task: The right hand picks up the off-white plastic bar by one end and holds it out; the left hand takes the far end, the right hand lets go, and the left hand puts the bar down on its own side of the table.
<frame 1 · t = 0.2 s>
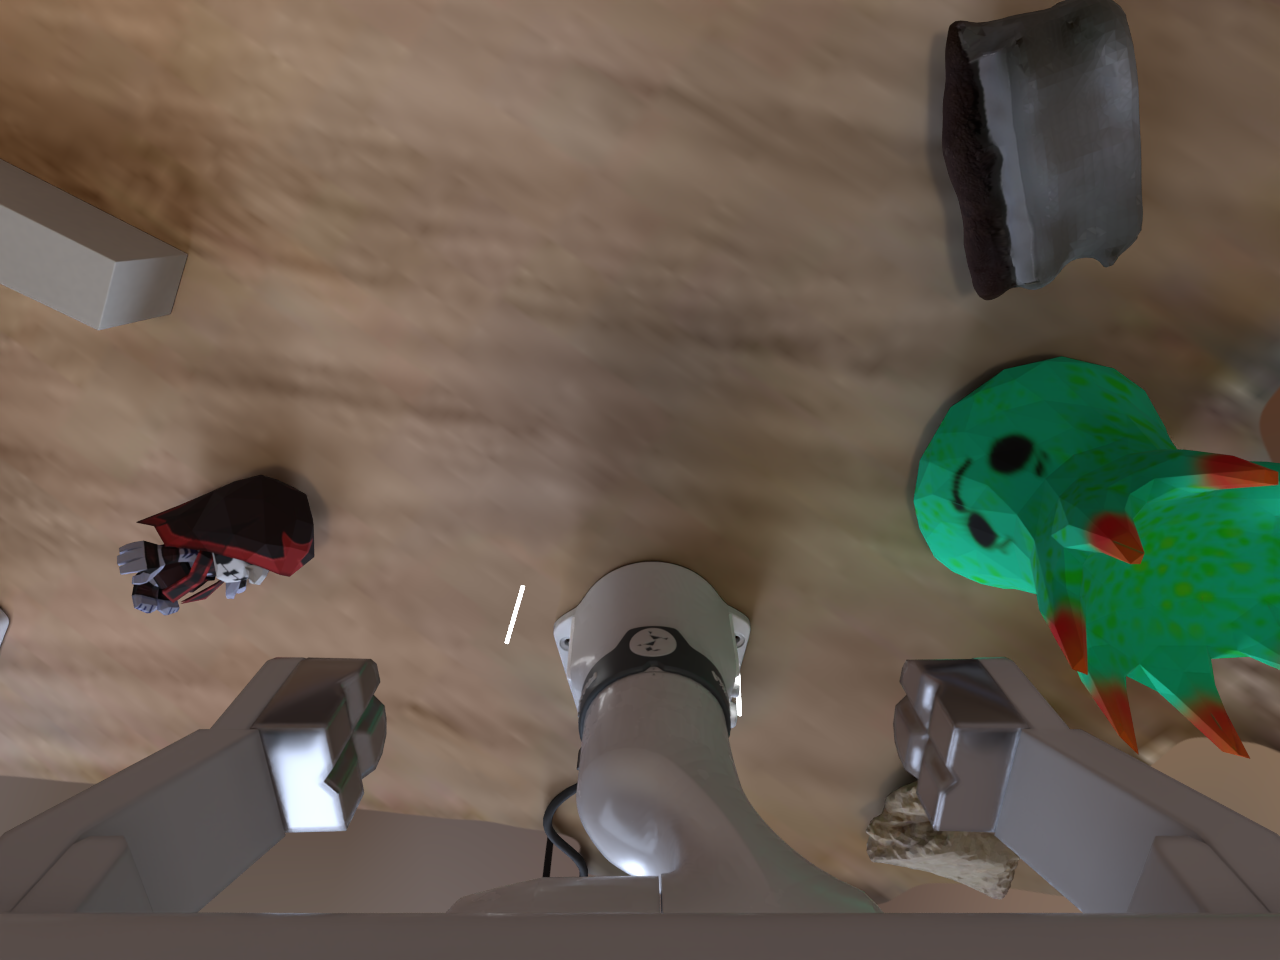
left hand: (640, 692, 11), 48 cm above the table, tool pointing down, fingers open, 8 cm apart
toy: (251, 520, 62), on the table
bar: (23, 206, 52), on the table
toy 2: (1023, 470, 60), on the table
artifact: (948, 806, 75), on the table
rock: (1005, 163, 51), on the table
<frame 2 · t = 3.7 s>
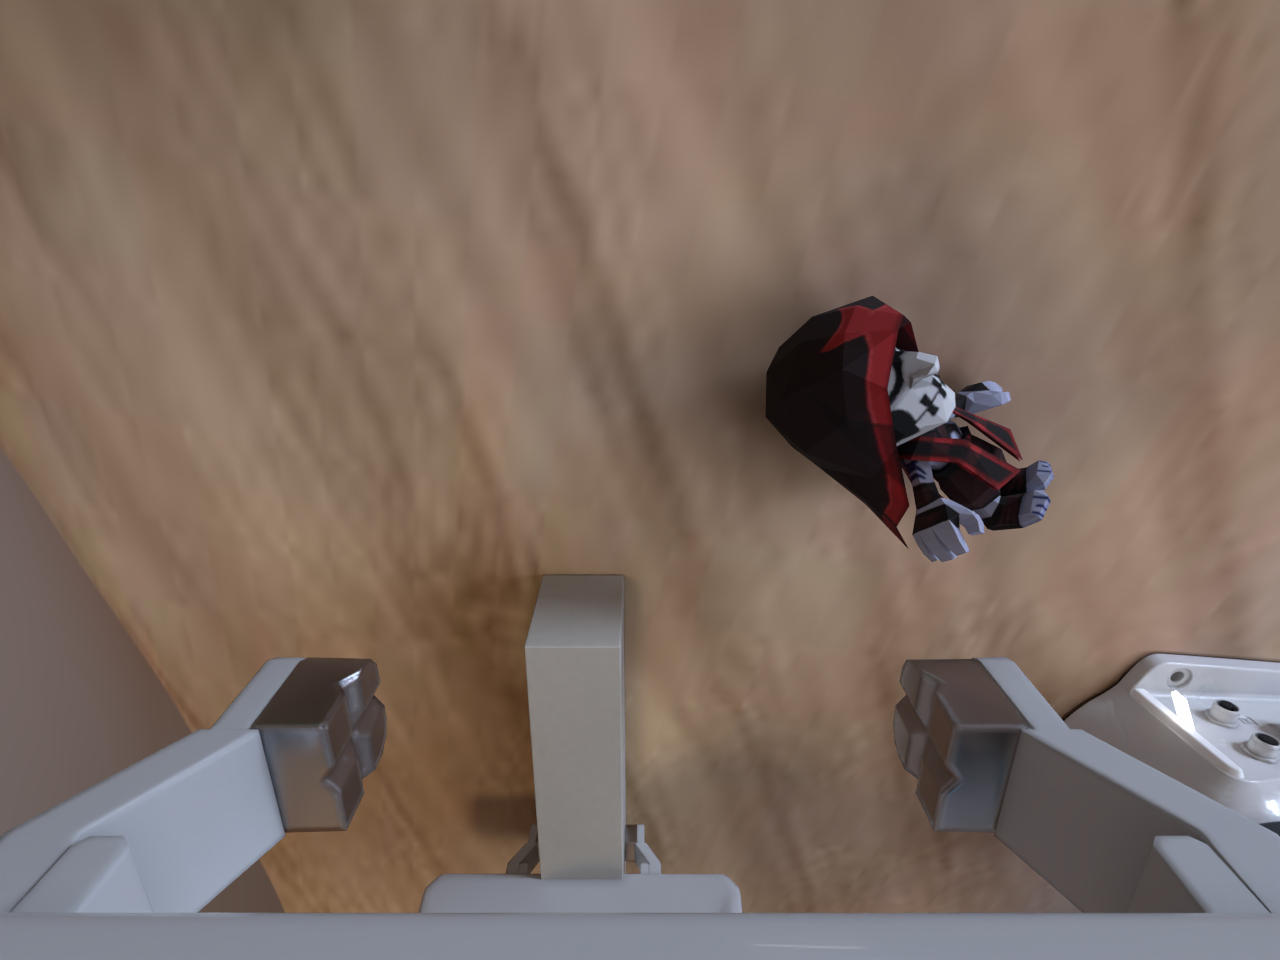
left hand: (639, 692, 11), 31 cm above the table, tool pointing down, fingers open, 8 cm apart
toy: (870, 409, 41), on the table
bar: (588, 721, 49), on the table, touching right hand
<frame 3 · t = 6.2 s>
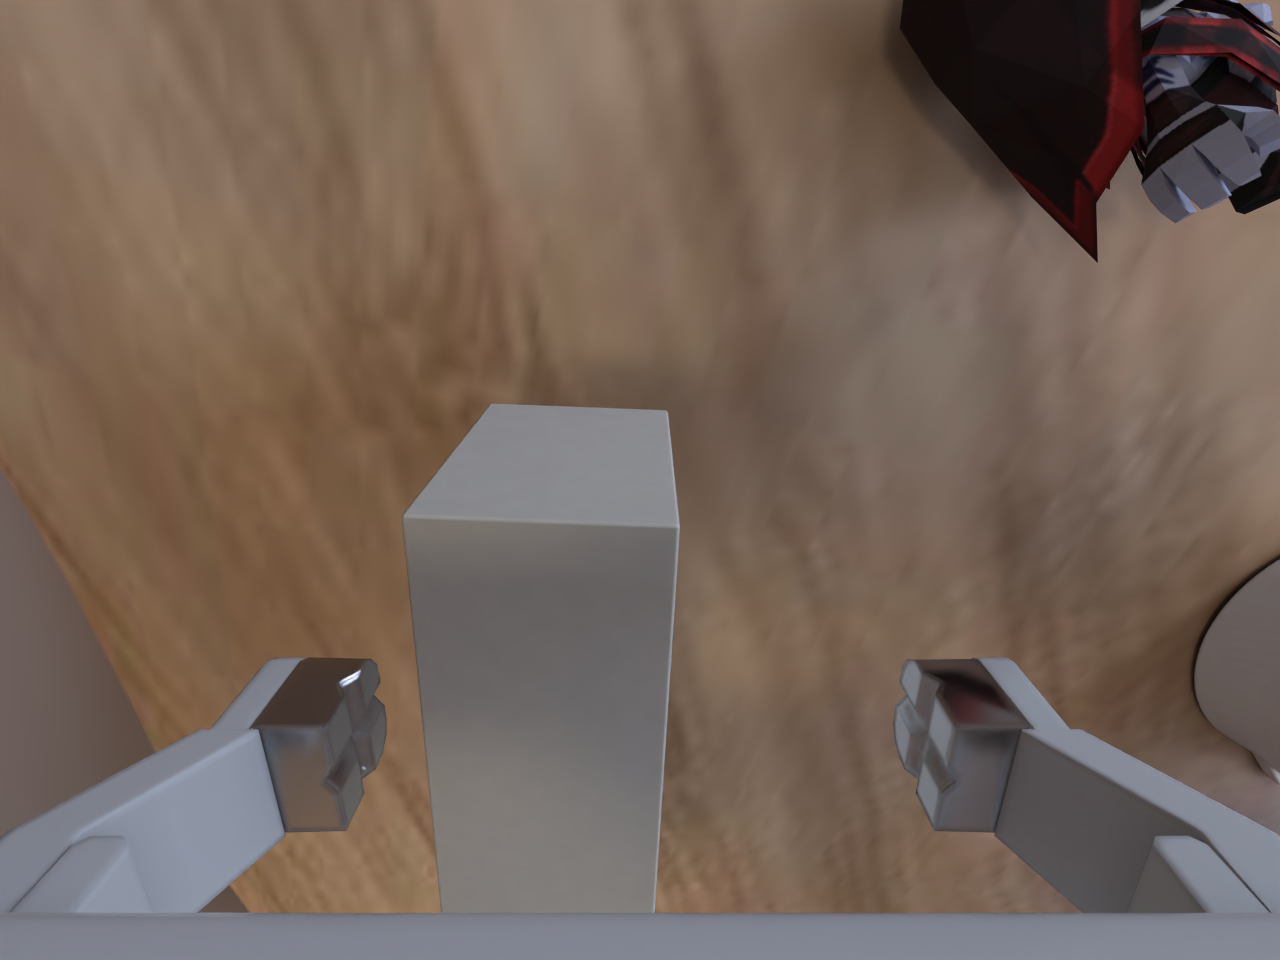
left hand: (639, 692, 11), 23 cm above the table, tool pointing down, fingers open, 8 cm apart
toy: (1037, 72, 28), on the table
bar: (577, 727, 25), point 12 cm above the table, touching right hand
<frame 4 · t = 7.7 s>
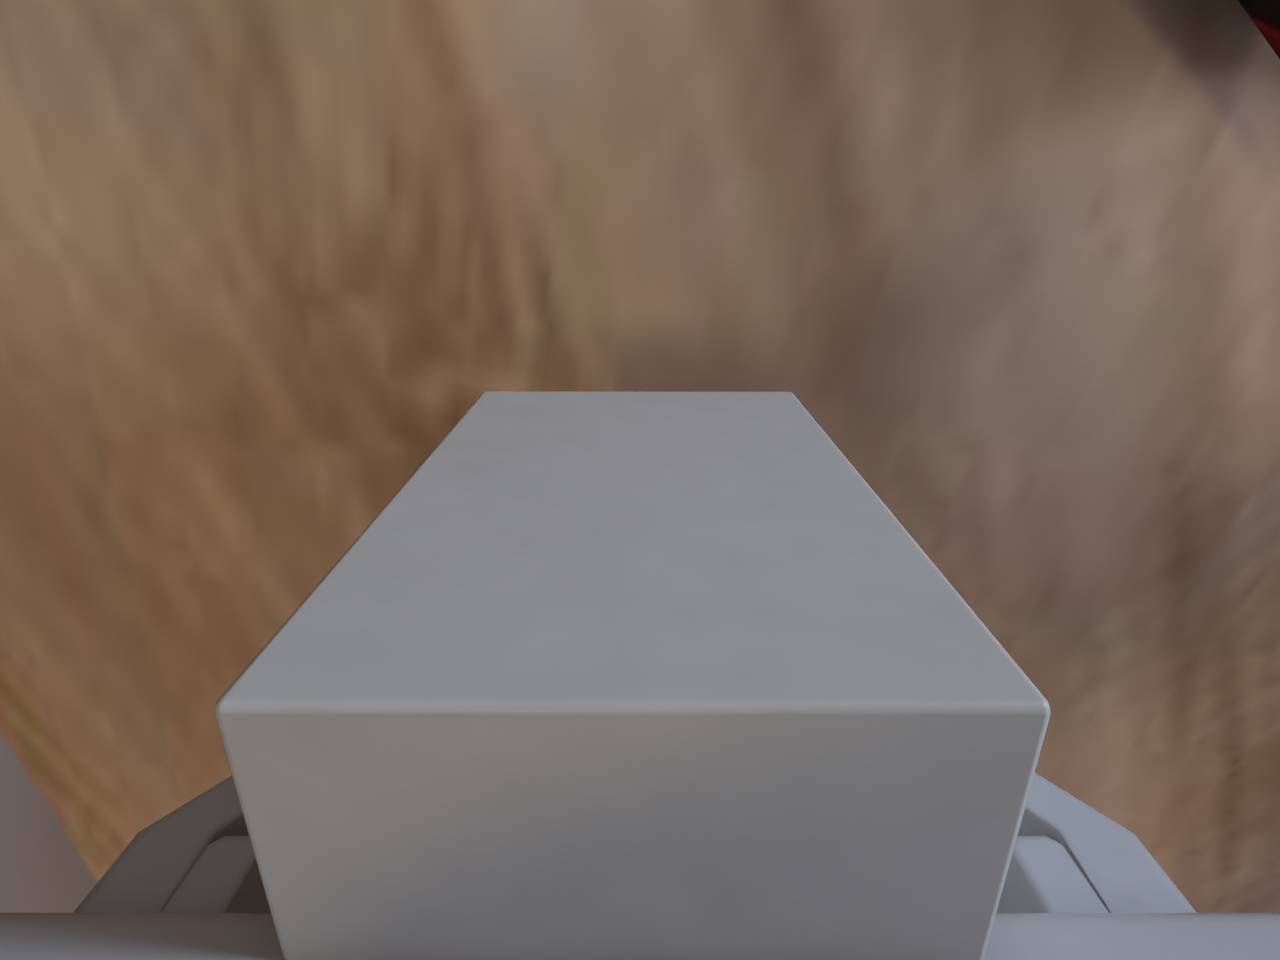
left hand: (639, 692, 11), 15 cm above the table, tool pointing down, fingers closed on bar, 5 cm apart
bar: (638, 890, 16), point 12 cm above the table, touching left hand, right hand
when the right hand's fingers open (15 cm above the table, at t = 8.9 s): bar stays where it is, held by the left hand.
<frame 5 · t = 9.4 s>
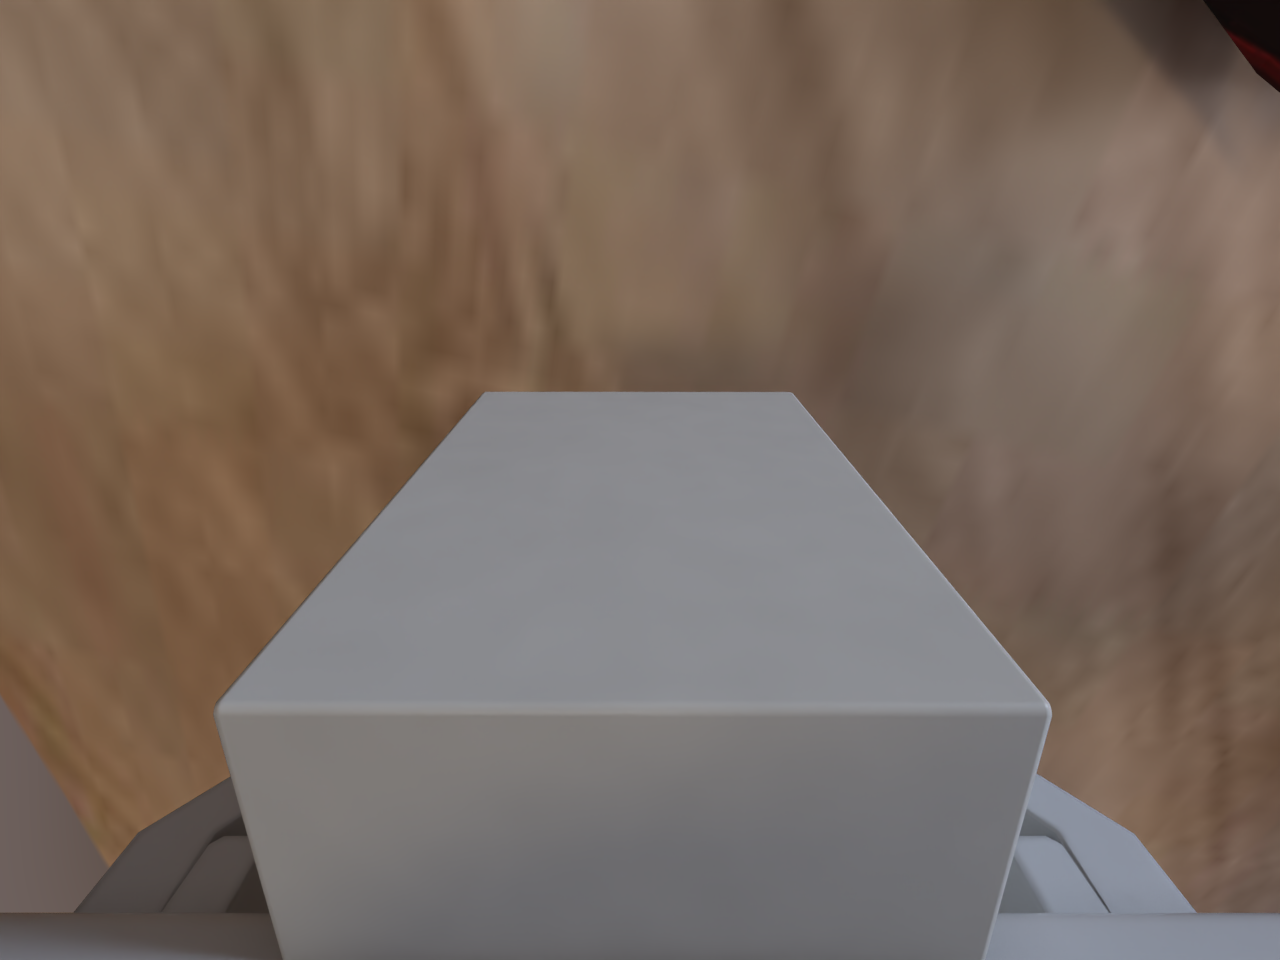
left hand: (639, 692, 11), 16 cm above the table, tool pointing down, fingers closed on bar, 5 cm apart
bar: (638, 891, 16), point 13 cm above the table, touching left hand
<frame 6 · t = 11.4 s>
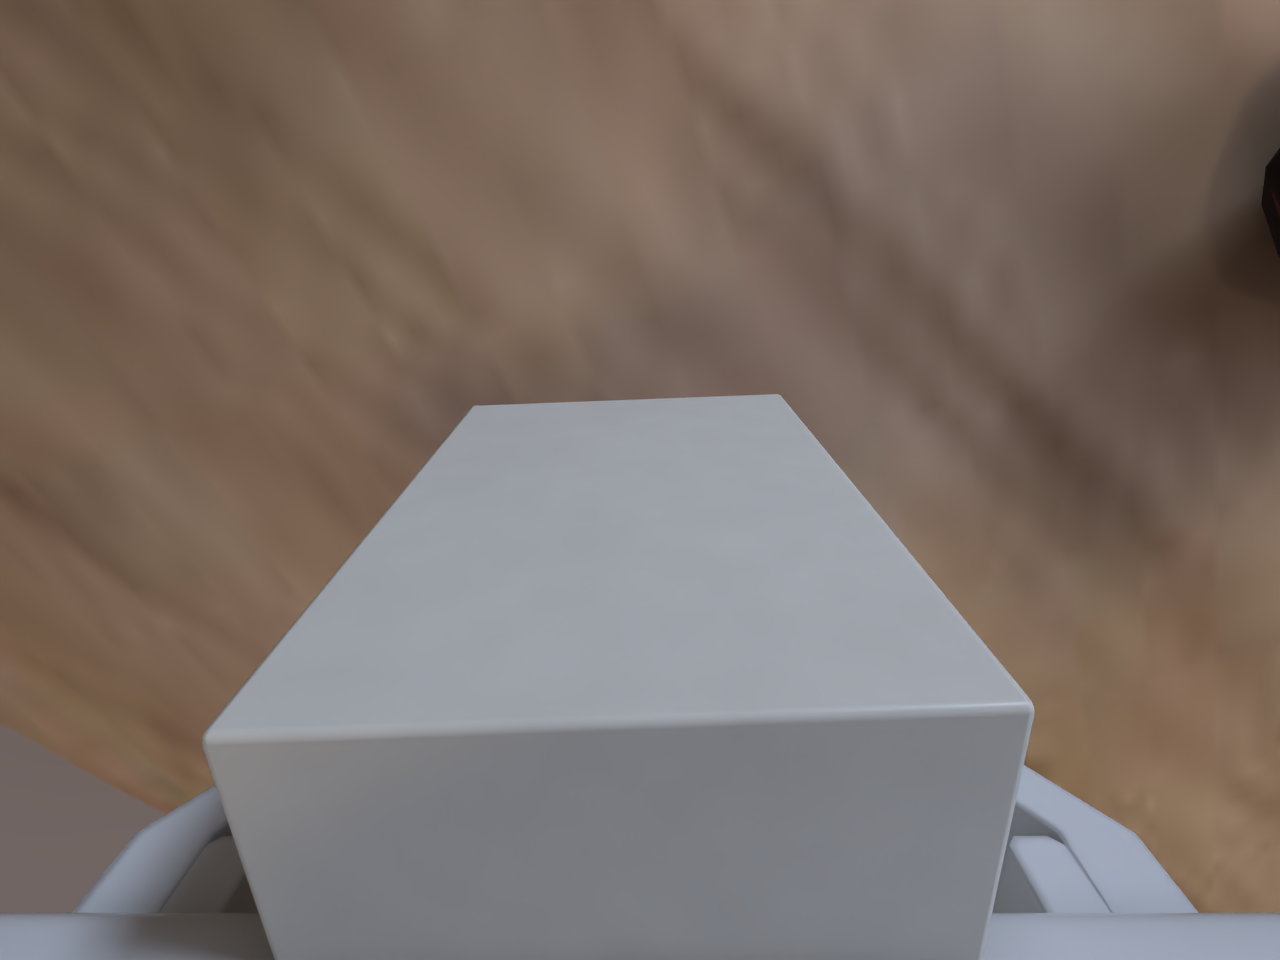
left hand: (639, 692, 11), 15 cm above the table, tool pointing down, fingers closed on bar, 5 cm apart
bar: (648, 898, 16), point 12 cm above the table, touching left hand
when the left hand's fingers open (4 cm above the table, at t = 13.0 s): bar stays where it is, on the table.
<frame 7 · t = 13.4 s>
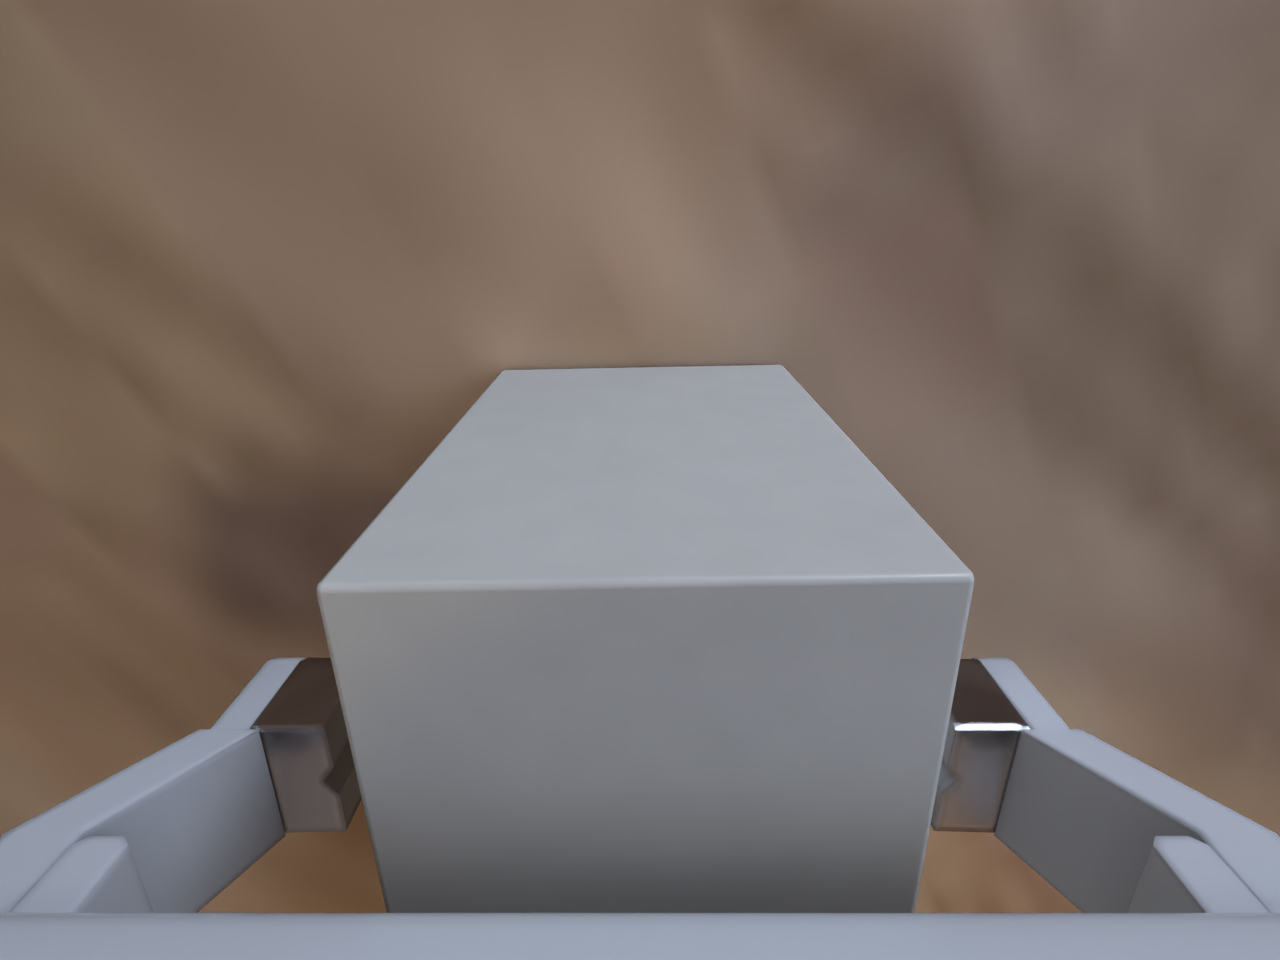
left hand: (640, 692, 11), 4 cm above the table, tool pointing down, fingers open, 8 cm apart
bar: (650, 839, 17), on the table
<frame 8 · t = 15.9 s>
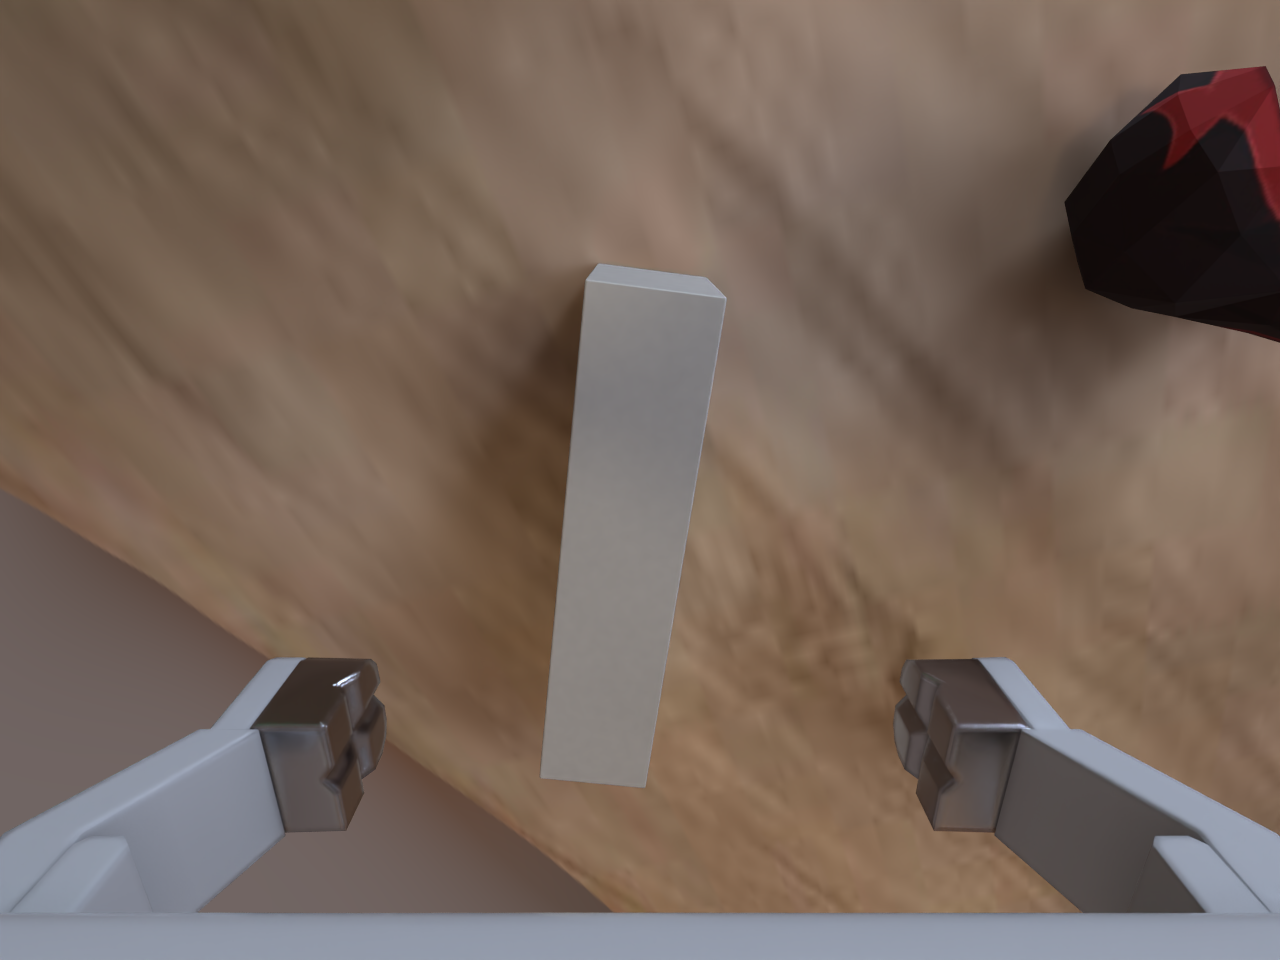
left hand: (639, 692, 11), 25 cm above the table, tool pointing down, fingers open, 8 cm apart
toy: (1191, 222, 32), on the table
bar: (623, 499, 37), on the table
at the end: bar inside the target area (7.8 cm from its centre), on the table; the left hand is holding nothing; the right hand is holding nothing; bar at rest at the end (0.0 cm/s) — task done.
